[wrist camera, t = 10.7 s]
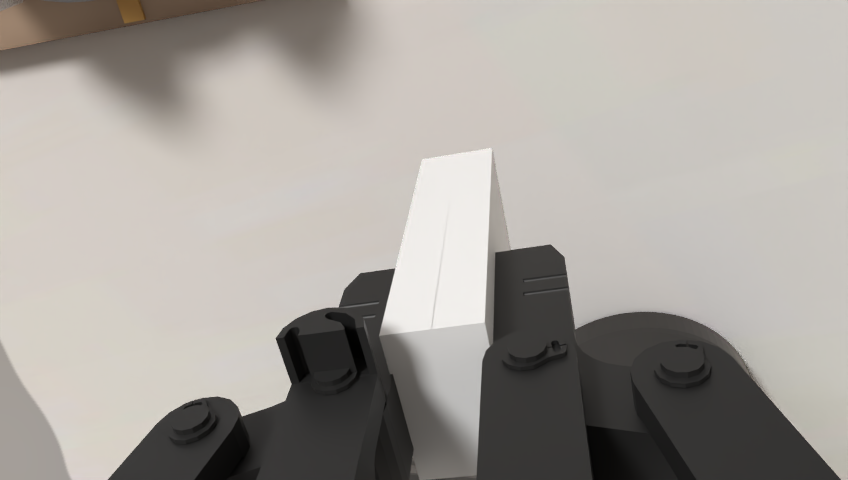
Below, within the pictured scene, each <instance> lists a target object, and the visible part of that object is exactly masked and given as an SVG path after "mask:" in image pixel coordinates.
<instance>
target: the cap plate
mask: <svg viewBox="0 0 848 480" xmlns="http://www.w3.org/2000/svg"><path fill="white" fill-rule="evenodd" d="M257 1H262V0H93V1H85V2H70V3H67V2H53V1H44V0H24V1H23V2H22V3H20V4H17V5H15V6H12V7H10V8H7V9H5V10H2V11H0V50H5V49H11V48H16V47H21V46H26V45H32V44H37V43H42V42H47V41H53V40H58V39H63V38H68V37H74V36H79V35H84V34H89V33H94V32H100V31H105V30H110V29H115V28H121V27H126V26H131V25H136V24H142V23H147V22H152V21H157V20H163V19H168V18H173V17H178V16H183V15H189V14H194V13H199V12H204V11H210V10H215V9H220V8H225V7H231V6H236V5H241V4H246V3H252V2H257Z"/></svg>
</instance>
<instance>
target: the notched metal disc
mask: <svg viewBox="0 0 848 480" xmlns="http://www.w3.org/2000/svg"><path fill="white" fill-rule="evenodd" d="M23 1H24V0H0V11H2V10H5V9H7V8H10V7H12V6H15V5H17V4H20V3H22V2H23ZM44 1H53V2H67V3H70V2H85V1H93V0H44Z"/></svg>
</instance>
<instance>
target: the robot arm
mask: <svg viewBox="0 0 848 480" xmlns="http://www.w3.org/2000/svg"><path fill="white" fill-rule="evenodd" d="M276 341H277V343H278V346H279V349H280V352H281V355H282V358H283V361H284V363H285V366H286V369H287V372H288V375H289V378H290V381H291V383H292V385H291V388H290V390H289V393H288V396H287V398H286V401H284V402H282V403H280V404H277V405H275V406H272V407H270V408H267V409H264V410H261V411H258V412H255V413H252V414H249V415H246V416H243V417H242V416H241V414H240V411H239V409H238V407H237V406H236V405H235V404H234V403H233V402H232V401H231V400H230V399H226V398H221V397H209V398H201V399H198V400H194V401H191V402H188V403H185V404H183V405H182V406H180V407H179V408H177V409H175V410H173V411H171V412H170V413H168V414H167V415H166V416H165V417H164V418H163V419H162V420H161V421H159V422H158V423H157V424H156V425H155V426H154V428H153V429H152V430H151V431H150V432H149V433H148V434H147V436H146V437H145V438H144V439H143V440H142V441H141V442H140V444H139V445H138V446H137V447H136V448H135V449H134V450H133V452H132V453H131V454H130V455H129V456H128V457H127V458H126V460H125V461H124V462H123V463H122V464H121V465H120V466H119V468H118V469H117V470H116V471H115V472H114V473H113V474H112V476H111V477H110V478H109V479H108V480H841V479H840V478H839V477H838V476H837V475H836V474H835V472H834V471H833V470H832V469H831V468H830V467H829V466H828V465H827V463H826V462H825V461H824V460H823V459H822V458H821V457H820V456H819V454H818V453H817V452H816V451H815V450H814V449H813V448H812V446H811V445H810V444H809V443H808V442H807V441H806V440H805V439H804V437H803V436H802V435H801V434H800V433H799V432H798V431H797V430H796V428H795V427H794V426H793V425H792V424H791V423H790V422H789V420H788V419H787V418H786V417H785V416H784V415H783V414H782V413H781V411H780V410H779V409H778V408H777V407H776V406H775V405H774V404H773V402H772V401H771V400H770V399H769V398H768V397H767V396H766V394H765V393H764V392H763V391H762V390H761V389H760V388H759V387H758V385H757V384H756V383H755V382H754V381H753V380H752V379H751V377H750V375H749V372H748V370H747V368H746V366H745V364H744V362H743V360H742V358H741V357H740V355H739V354H738V353H737V351H736V350H735V349H734V348H733V347H732V346H731V344H730V343H728V342H727V341H726V340H725V339H724V338H723V337H722V336H720V335H719V334H718V333H716V332H715V331H713V330H711V329H710V328H708V327H706V326H704V325H702V324H700V323H698V322H695V321H693V320H690V319H687V318H684V317H680V316H676V315H671V314H665V313H656V312H634V313H624V314H618V315H613V316H609V317H605V318H602V319H599V320H596V321H593V322H591V323H588V324H586V325H584V326H582V327H580V328H578V329H576V330H575V325H574V318H573V312H572V305H571V298H570V292H569V285H568V278H567V272H566V265H565V258H564V256H563V255H561V254H560V253H559V252H558V251H557V250H556V249H555V248H554V247H553V246H552V245H544V246H537V247H530V248H523V249H516V250H511V248H510V243H509V237H508V232H507V226H506V221H505V216H504V210H503V205H502V199H501V194H500V188H499V183H498V177H497V172H496V166H495V161H494V155H493V150H492V148H488V149H482V150H476V151H470V152H464V153H458V154H451V155H445V156H439V157H433V158H427V159H422V162H421V166H420V170H419V174H418V178H417V182H416V187H415V191H414V195H413V199H412V203H411V207H410V211H409V215H408V219H407V223H406V228H405V232H404V236H403V240H402V244H401V248H400V252H399V256H398V260H397V264H396V268H395V269H388V270H381V271H374V272H367V273H360V274H359V275H358V276H357V277H356V278H355V279H354V280H353V281H352V282H351V283H350V285H349V286H348V287H347V288H346V289H345V290H344V293H343V296H342V299H341V302H340V305H339V308H326V309H321V310H317V311H313V312H310V313H308V314H306V315H303V316H301V317H299V318H297V319H295V320H294V321H292V322H291V323H290V324H288V325H287V326H286V327H284V328H283V329H282V331H281V332H280V333H279V335H278V336H277V337H276Z"/></svg>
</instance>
